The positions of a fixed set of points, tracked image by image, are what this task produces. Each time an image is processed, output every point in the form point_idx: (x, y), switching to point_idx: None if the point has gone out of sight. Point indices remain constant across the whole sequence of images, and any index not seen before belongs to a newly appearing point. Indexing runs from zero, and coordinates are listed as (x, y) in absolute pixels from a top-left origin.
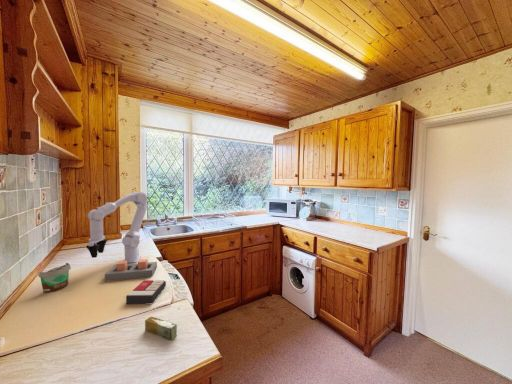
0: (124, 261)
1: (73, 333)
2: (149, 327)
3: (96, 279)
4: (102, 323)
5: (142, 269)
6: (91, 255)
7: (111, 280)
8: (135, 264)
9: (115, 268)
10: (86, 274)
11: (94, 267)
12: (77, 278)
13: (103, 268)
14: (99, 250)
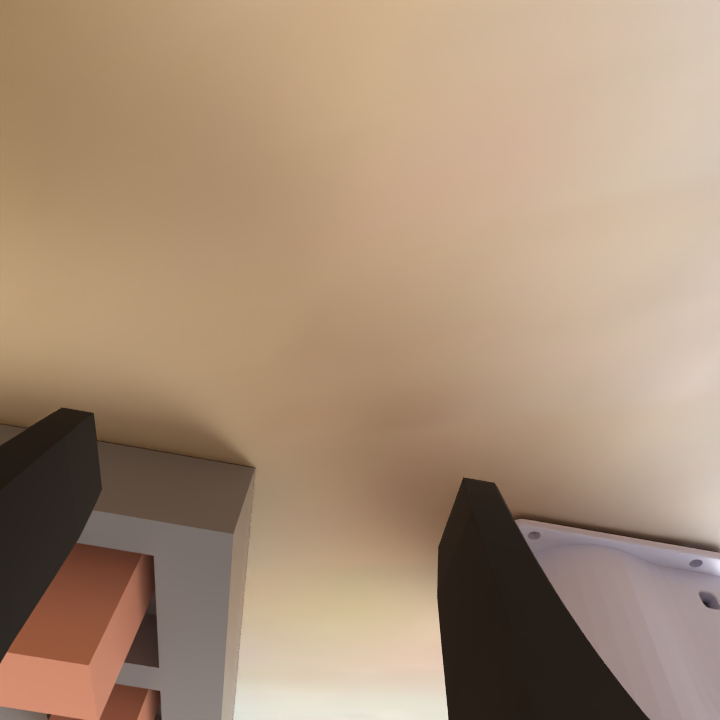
0: (67, 702)
1: None
2: None
3: (24, 319)
4: None
5: (34, 717)
6: (9, 447)
7: None
8: (191, 685)
9: (115, 544)
10: (249, 128)
11: (570, 177)
12: (95, 18)
13: (433, 328)
14: (464, 554)
